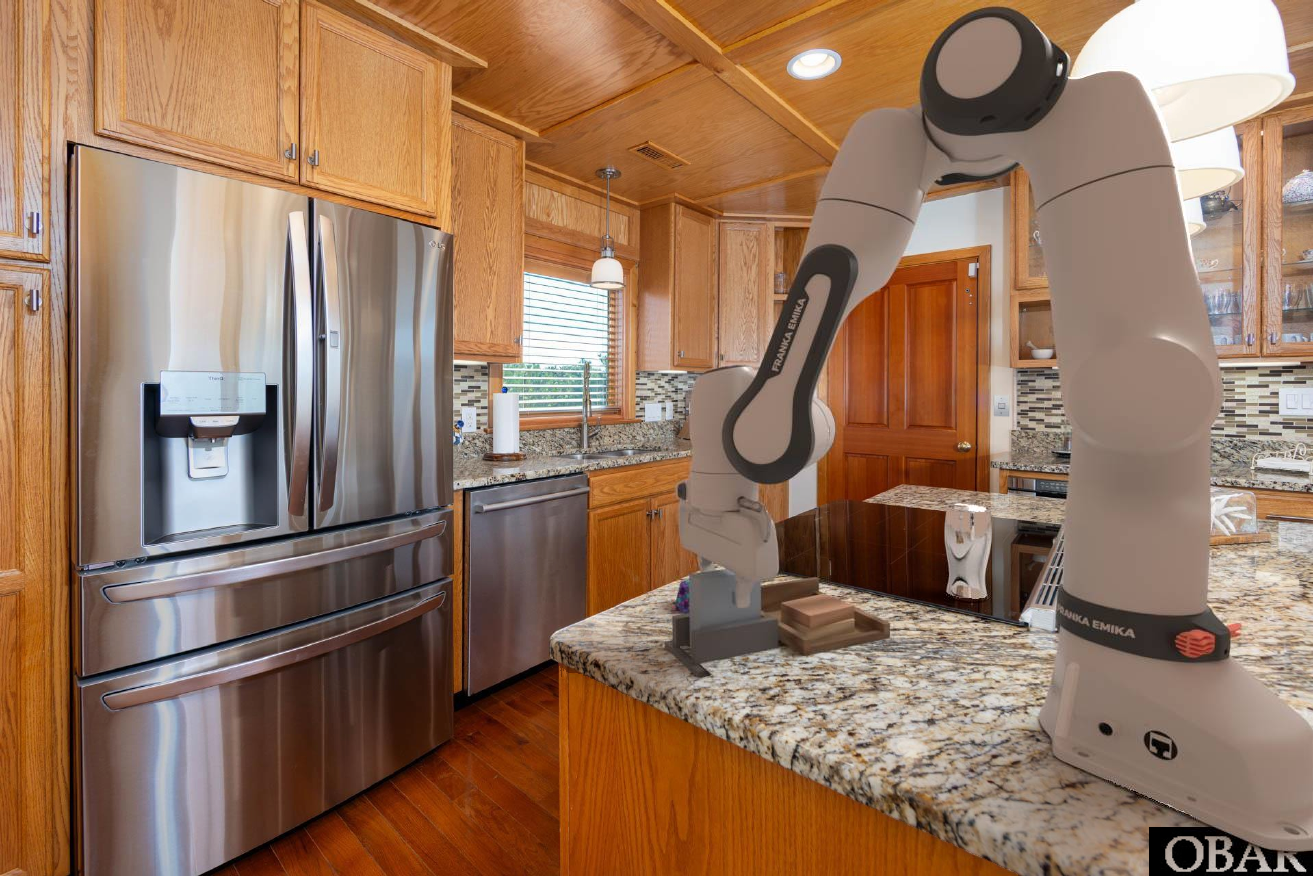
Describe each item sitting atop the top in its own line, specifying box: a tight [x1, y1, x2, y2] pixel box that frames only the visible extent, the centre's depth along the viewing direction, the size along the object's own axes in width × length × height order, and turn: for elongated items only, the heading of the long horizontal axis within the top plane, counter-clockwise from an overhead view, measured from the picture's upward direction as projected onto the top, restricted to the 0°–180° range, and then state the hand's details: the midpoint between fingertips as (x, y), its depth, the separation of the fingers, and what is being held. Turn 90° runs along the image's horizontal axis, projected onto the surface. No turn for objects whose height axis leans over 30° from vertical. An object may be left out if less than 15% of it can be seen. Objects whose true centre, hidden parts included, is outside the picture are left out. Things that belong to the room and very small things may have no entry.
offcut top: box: [781, 593, 855, 629], centre depth 87 cm, size 6×8×2 cm
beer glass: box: [944, 503, 993, 599], centre depth 103 cm, size 7×7×15 cm
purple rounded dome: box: [674, 578, 690, 614], centre depth 97 cm, size 12×12×5 cm
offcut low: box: [781, 616, 855, 641], centre depth 87 cm, size 6×8×2 cm
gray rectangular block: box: [688, 568, 762, 650], centre depth 82 cm, size 3×9×10 cm, turn 113°
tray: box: [761, 576, 891, 657], centre depth 89 cm, size 16×14×5 cm
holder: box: [664, 613, 779, 679], centre depth 82 cm, size 10×13×5 cm
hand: (724, 596), depth 82 cm, fingers open, 7 cm apart
